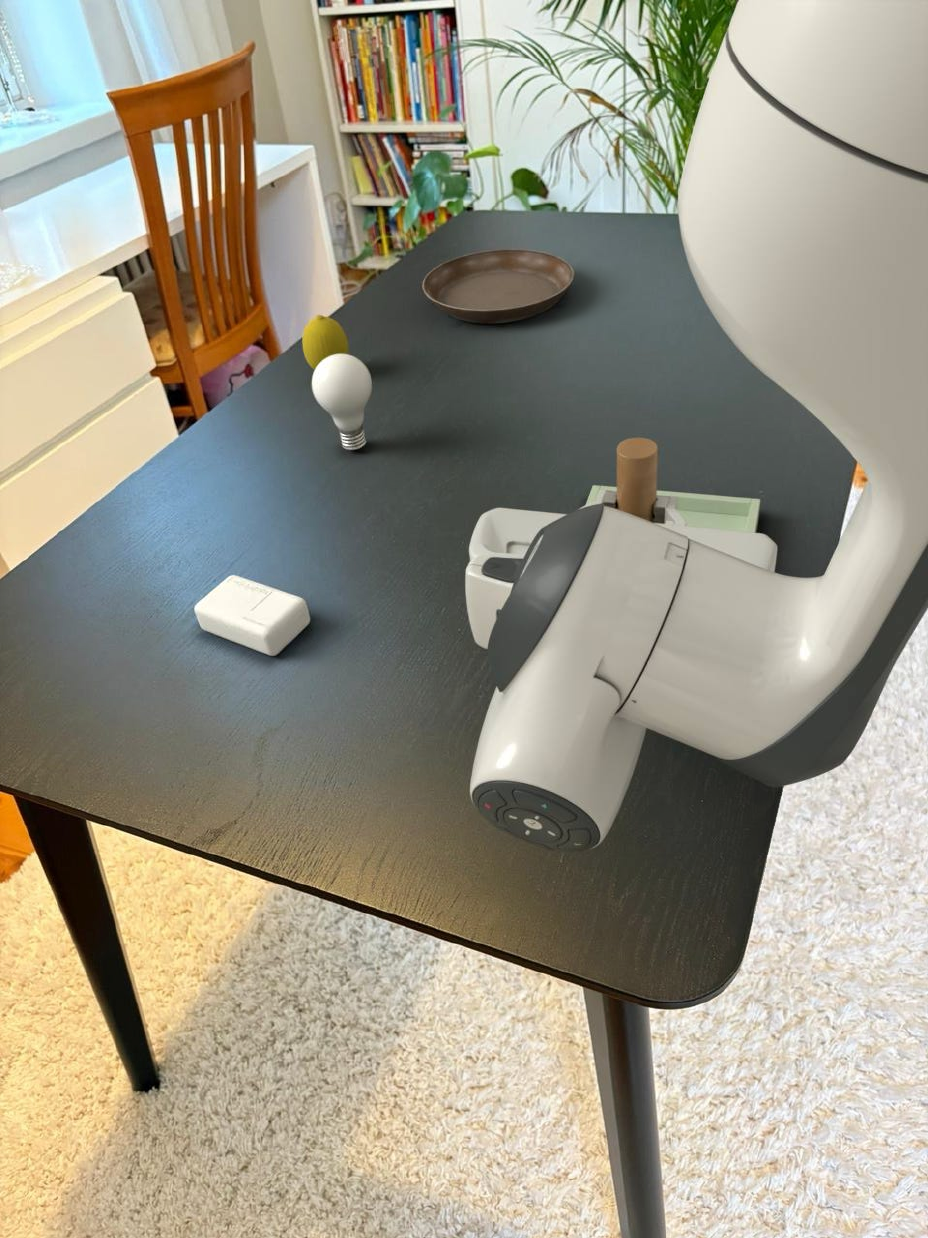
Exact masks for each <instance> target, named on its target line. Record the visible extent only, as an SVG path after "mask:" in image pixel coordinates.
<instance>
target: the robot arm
mask: <svg viewBox="0 0 928 1238" xmlns="http://www.w3.org/2000/svg"><path fill="white" fill-rule="evenodd" d="M711 69H712V70H711V72H710V75H709V78H708V81H707V84H706V87H705V90H704V94H703V95H702V96H703V97H702V100H701V103H700V106H699V109H698V113H697V116H696V118H695V123H694V126H693V129H692V134H691V136H690V139H689V145H688V148H687V152H686V156H685V161H684V164H683V169H682V173H681V177H680V182H679V186H678V193H677V215H678V223H679V231H680V237H681V241H682V246H683V249H684V253H685V257H686V260H687V263H688V267H689V269H690V272H691V275H692V276H693V279H694V281H695V283H696V286H697V289H698V290H699V293H700V294H701V297H702V298H703V300H704V303H705V304H706V306H707V308H708V309H709V311H710V312H711V314H712V316H713V317H714V319H715V320H716V322H717V323H718V325H719V326H720V328H721V329H722V330H723V332H724V333H725V334H726V336H727V337H728V338H729V339H730V341H731V342H732V344H733V345H734V346H735V347H736V348H737V349H738V350H739V351H740V353H742V355H743V356H744V357H745V358H746V359H747V360H748V361H749V362H750V363H751V364H752V365H753V366H754V367H755V368H756V369H758V371H760V372H761V373H762V374H763V375H765V376H766V377H767V378H769V379H770V380H771V381H773V382H774V383H775V384H776V385H778V386H779V387H780V388H781V389H782V390H784V391H785V392H786V393H787V394H788V395H790V396H791V397H792V398H794V400H796V401H797V402H798V403H799V404H801V405H802V406H803V407H804V408H805V409H806V410H808V411H809V412H810V413H811V415H813V416H814V417H815V418H816V419H817V420H819V422H821V423H822V424H823V426H825V427H826V428H827V429H828V431H830V433H831V434H832V435H833V436H834V437H835V438H836V439H837V440H838V442H840V443H841V444H842V445H843V447H844V448H845V449H846V450H847V452H849V453H850V455H851V456H852V457H853V458H854V460H855V461H856V463H858V465H859V467H860V468H861V470H862V471H863V473H864V475H865V477H866V483H865V485H864V487H863V489H862V491H861V494H860V496H859V497H858V500H857V503H856V504H855V507H854V509H853V511H852V513H851V516H850V518H849V520H848V522H847V524H846V526H845V528H844V531H843V532H842V535H841V537H840V539H839V541H838V543H837V546H836V548H835V549H834V552H833V555H832V557H831V558H830V561H829V563H828V565H827V568H826V570H825V572H824V574H823V575H820V576H815V577H798V576H791V575H785V574H781V573H777V572H776V565H777V557H778V545H777V543H776V542H775V541H774V540H773V539H772V538H771V537H769V536H768V535H767V534H765V533H760V532H756V533H752V532H741V531H731V530H721V529H711V528H701V527H690V526H686V523H687V522H686V521H685V520H684V518H683V517H682V516H681V514H680V513H679V512H678V511H677V506H678V497H676V496H659V495H657V497H656V501H655V504H654V511H653V514H654V518H653V523H652V522H650V521H647V520H645V519H642V518H639V517H637V516H634V515H632V514H629V513H626V512H624V511H621V510H618V509H617V491H608V490H599V492H598V495H597V497H596V500H595V501H592V502H591V503H589V504H587V505H586V504H584V505H583V506H581V507H579V508H578V509H576V510H574V511H571V512H569V513H558V512H548V511H547V512H546V511H539V510H526V509H516V508H509V507H508V508H507V507H495V508H492V509H490V510H488V511H486V512H484V513H482V514H481V515H480V516H479V518H478V520H477V522H476V524H475V526H474V529H473V532H472V535H471V537H470V542H469V544H468V545H469V546H468V556H469V562H468V563H467V566H466V568H465V573H464V574H465V576H464V579H465V580H464V583H465V584H464V587H465V588H464V589H465V590H464V591H465V603H466V609H467V610H466V611H467V617H468V621H469V622H468V623H469V626H470V630H471V633H472V637H473V640H474V642H475V643H476V645H478V646H479V647H481V648H483V649H486V651H487V654H488V660H489V665H490V669H491V673H492V678H493V680H494V683H495V685H496V687H495V688H494V691H493V695H492V697H491V700H490V703H489V705H488V709H487V711H486V714H485V718H484V721H483V724H482V728H481V731H480V734H479V738H478V742H477V746H476V751H475V755H474V758H473V765H472V770H471V776H470V782H469V783H470V784H469V796H470V799H471V802H472V804H473V806H474V807H475V809H476V810H477V812H478V813H479V814H480V815H481V816H482V817H483V818H484V819H486V820H487V821H488V822H489V823H490V824H492V826H493V827H494V828H496V829H498V830H499V831H502V832H504V833H506V834H507V835H509V836H511V837H514V838H516V839H518V840H521V841H523V842H525V843H527V844H530V845H533V846H535V847H539V848H541V849H544V850H548V851H551V852H554V851H555V852H566V853H579V852H585V851H589V850H593V849H595V848H596V847H598V846H599V845H600V844H602V842H604V840H605V838H606V837H607V835H608V833H609V832H610V830H611V828H612V825H613V824H614V821H615V820H616V818H617V815H618V813H619V811H620V808H621V806H622V803H623V801H624V798H625V795H626V794H627V791H628V789H629V787H630V784H631V781H632V778H633V776H634V773H635V770H636V767H637V764H638V760H639V758H640V757H639V756H640V753H641V750H642V746H643V742H644V740H645V737H646V732H647V729H648V730H650V731H653V732H655V733H657V734H660V735H663V736H665V737H667V738H670V739H672V740H674V741H677V742H680V743H681V744H684V745H687V746H689V747H692V748H694V749H696V750H698V751H701V752H704V753H706V754H708V755H710V756H711V757H712V758H713V759H715V760H717V761H719V762H721V763H722V764H724V765H726V766H728V767H730V768H732V769H734V770H736V771H738V772H740V773H742V774H743V775H746V776H747V777H750V778H751V779H754V780H756V781H758V782H760V783H761V784H763V785H765V786H767V787H770V788H781V787H786V786H790V785H794V784H797V783H800V782H801V783H802V782H804V781H807V780H811V779H813V778H816V777H819V776H821V775H824V774H826V773H828V772H830V771H833V770H834V769H836V768H838V767H840V766H841V765H842V764H843V763H845V761H847V759H848V758H849V757H850V755H851V754H852V752H853V751H854V749H855V747H857V744H858V743H859V741H860V739H861V738H862V736H863V734H864V732H865V730H866V729H867V726H868V725H869V722H870V720H871V717H872V715H873V713H874V711H875V708H876V707H877V705H878V704H877V703H878V701H879V699H880V697H881V695H882V693H883V689H885V686H886V684H887V682H888V679H889V677H890V675H891V673H892V670H893V669H894V667H895V665H896V664H897V662H898V660H899V658H900V656H901V654H902V653H903V651H904V649H905V647H906V646H907V644H908V642H909V640H910V639H911V637H912V636H913V634H914V632H915V630H916V629H917V627H918V625H919V624H920V623H921V620H922V619H923V617H924V615H925V614H926V612H927V611H928V0H737V4H736V6H735V8H734V11H733V13H732V16H731V18H730V21H729V25H728V27H727V29H726V32H725V34H724V37H723V39H722V42H721V45H720V48H719V50H718V53H717V56H716V58H715V61H714V65H713V67H712V68H711Z"/></svg>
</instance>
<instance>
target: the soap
mask: <svg viewBox="0 0 928 1238" xmlns="http://www.w3.org/2000/svg"><path fill="white" fill-rule="evenodd" d="M194 614H195V615H196V619H197V622H198V624H199V626H200V628H201V629H202V630H203V631H205V632H208V633H210V634H213V635H215V636H218V637H220V638H223V639H225V640H228V641H231V642H234V643H236V644H239V645H242V646H244V647H246V648H249V649H252V650H255V651H257V652H259V653H261V654H262V653H263V654H265V655H268V656H270V657H275V656H277V655H278V654H280V653H281V652H282V651H283V650H284V649H285V648H286V647H287V646H288V645H289V644H290V643H291V642H292V641H293V640H294V639H295V638H296V637H297V636H298V635H299V634H300V633H301V632H303V630H305V628H306V627H308V625H309V624H310V622H311V617H310V612H309V608H308V606H307V603H306V600H305V599H304V598H303V597H300V596H298V595H295V594H292V593H288V592H285V591H283V590H280V589H277V588H274V587H271V586H269V585H265V584H262V583H259V582H257V581H253V580H251V579H248V578H245V577H242V576H238V575H235V574H231V575H229V576H227V577H226V578H225V579H224V580H223V581H222V582H221V583H219V584H218V585H217V586H216V587H214V588H213V589H212V590H211V591H210V592H208V594H206V595H205V596H204V597H203V598H202V599H200V600H199V601H198V602H197V603H196V604H195V606H194Z"/></svg>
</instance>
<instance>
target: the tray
mask: <svg viewBox="0 0 928 1238" xmlns="http://www.w3.org/2000/svg"><path fill="white" fill-rule="evenodd" d="M599 490H608V491H617V486H611V485H610V486H609V485H595V484H593V485H592V487H591V490H590V492H589V495H588V497H587V500H586V503H585V505H587V504H589V503H591V502H592V501H595V500H596V497H597V495H598V492H599ZM657 495H659V496H676V497H678V506H677V511H678V512H679V513H680V514H681V516H682V517H683V518H684V520H685V521H686V522H687V523H686V526H690V527H701V528H711V529H721V530H731V531H741V532H752V533H757V531H758V530H757V529H758V523H759V518H760V517H759V516H760V509H761V499H760V498H751V497H741V496H740V497H737V496H727V495H716V494H705V493H703V494H702V493H692V492H691V493H690V492H679V491H667V490H657Z"/></svg>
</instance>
